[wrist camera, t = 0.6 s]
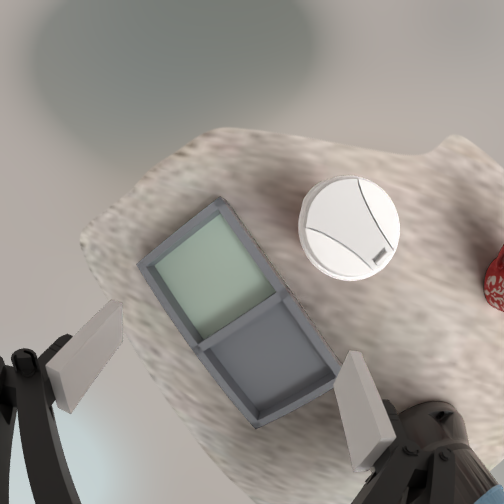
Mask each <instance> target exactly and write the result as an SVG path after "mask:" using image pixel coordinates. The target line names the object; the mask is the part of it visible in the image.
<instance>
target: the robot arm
mask: <svg viewBox="0 0 504 504" xmlns="http://www.w3.org/2000/svg"><path fill="white" fill-rule="evenodd" d="M122 342H123V303H121V302H118V301H115V300H110V301H109V302H108V303H107V304H106V305H105V306H104V307H103V308H102V309H101V310H100V311H99V312H98V313H96V314H95V315H94V317H92V318H91V319H90V320H89V321H88V322H87V323H86V324H85V325H84V326H83V327H82V328H81V329H80V330H79V331H78V332H77V333H76V334H75V335H74V336H71V335H69V334H66V335H63V336H61V337H59V338H58V339H57V340H56V341H55V342H54V343H53V344H52V345H51V346H50V347H49V349H47V350H46V351H45V352H44V353H43V354H42V355H41V356H40V357H39V358H38V359H37V356H36V353H35V352H34V351H33V350H30V349H25V348H23V349H19V350H17V351H15V352H14V353H13V354H12V357H11V361H12V364H13V367H12V366H8V365H5V363H4V361H3V358H2V357H0V504H9V471H10V458H11V447H12V439H13V431H14V424H15V419H16V412H17V411H18V420H19V428H20V436H21V442H22V449H23V454H24V459H25V464H26V469H27V473H28V478H29V482H30V486H31V490H32V493H33V497H34V500H35V504H81V502H80V499H79V497H78V494H77V491H76V489H75V486H74V483H73V481H72V478H71V475H70V472H69V469H68V466H67V463H66V459H65V456H64V452H63V449H62V446H61V442H60V438H59V434H58V430H57V426H56V421H55V417H54V412H53V408H52V404H53V402H54V401H55V400H56V403H57V406H58V408H60V409H62V410H64V411H66V412H68V413H70V414H71V413H72V412H73V410H74V409H75V407H76V406H77V405H78V403H79V402H80V400H81V399H82V397H83V396H84V394H85V393H86V392H87V390H88V389H89V387H90V386H91V385H92V383H93V382H94V380H95V379H96V378H97V376H98V375H99V373H100V372H101V371H102V369H103V368H104V366H105V365H106V364H107V362H108V361H109V360H110V358H111V357H112V356H113V354H114V353H115V351H116V350H117V349H118V347H119V346H120V345H121V343H122ZM333 387H334V391H335V395H336V399H337V403H338V407H339V411H340V415H341V419H342V423H343V428H344V432H345V436H346V440H347V445H348V449H349V453H350V458H351V463H352V467H353V472H359V471H368V470H369V469H370V468H371V472H372V474H371V475H370V476H369V477H368V479H367V480H366V481H365V482H366V484H365V485H364V486H363V488H362V489H361V491H360V492H359V493H358V495H357V496H356V498H355V499H354V500H353V502H352V503H351V504H504V492H503V487H502V486H501V485H500V484H498V482H497V481H496V480H495V478H494V477H493V476H492V475H491V473H490V472H489V471H488V469H487V468H486V467H485V465H484V464H483V463H482V462H481V460H480V459H479V458H478V457H477V455H476V454H475V453H474V452H473V450H472V449H471V448H470V446H469V441H468V436H467V432H466V427H465V423H464V420H463V418H462V416H461V415H460V414H459V412H458V411H457V410H456V409H455V408H454V407H453V406H451V405H450V404H448V403H445V402H438V401H434V402H426V403H422V404H419V405H416V406H414V407H411V408H409V409H407V410H405V411H404V412H402V413H400V414H399V415H397V412H396V410H395V407H394V406H393V405H392V404H391V403H390V401H389V400H381V397H380V395H379V393H378V390H377V388H376V385H375V383H374V381H373V378H372V376H371V374H370V371H369V369H368V367H367V365H366V362H365V360H364V358H363V356H362V353H361V352H359V351H351V350H349V352H348V354H347V356H346V359H345V361H344V363H343V365H342V367H341V369H340V372H339V374H338V376H337V378H336V380H335V382H334V384H333Z"/></svg>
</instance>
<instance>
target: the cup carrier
mask: <svg viewBox="0 0 504 504" xmlns="http://www.w3.org/2000/svg"><path fill="white" fill-rule="evenodd" d="M136 265H137V266H138V268H139V270H140V271H141V273H142V275H143V276H144V278H145V280H146V281H147V283H148V284H149V286H150V288H151V289H152V291H153V292H154V294H155V296H156V297H157V299H158V300H159V302H160V303H161V305H162V306H163V308H164V309H165V311H166V312H167V314H168V315H169V317H170V318H171V320H172V321H173V323H174V324H175V326H176V327H177V329H178V330H179V332H180V333H181V334H182V336H183V337H184V339H185V340H186V342H187V343H188V344H189V346H190V347H191V349H192V350H193V351H194V353H195V354H196V355H197V357H198V358H199V360H200V361H201V362H202V364H203V365H204V366H205V368H206V369H207V370H208V372H209V373H210V374H211V376H212V377H213V378H214V379H215V381H216V382H217V383H218V385H219V386H220V387H221V388H222V390H223V391H224V392H225V393H226V395H227V396H228V397H229V398H230V400H231V401H232V402H233V403H234V405H235V406H236V407H237V408H238V409H239V411H240V412H241V413H242V414H243V415H244V416H245V418H246V419H247V420H248V421H249V422H250V424H251V425H252V426H253V427H254V428H255V429H257V428H259V427H261V426H264V425H266V424H268V423H270V422H272V421H274V420H276V419H278V418H280V417H282V416H284V415H286V414H288V413H290V412H292V411H294V410H295V409H297V408H299V407H301V406H303V405H305V404H306V403H308V402H310V401H312V400H314V399H315V398H317V397H319V396H321V395H322V394H324V393H326V392H327V391H329V390H331V389H332V388H334V387H333V384H334V382H335V380H336V378H337V376H338V374H339V372H340V369H341V367H342V364H341V363H340V361H339V360H338V358H337V357H336V355H335V354H334V353H333V351H332V350H331V348H330V347H329V345H328V344H327V342H326V341H325V340H324V338H323V337H322V335H321V334H320V332H319V331H318V330H317V328H316V327H315V325H314V324H313V322H312V321H311V320H310V318H309V317H308V315H307V314H306V312H305V311H304V310H303V308H302V307H301V305H300V304H299V302H298V301H297V300H296V298H295V297H294V295H293V294H292V292H291V291H290V290H289V288H288V287H287V285H286V284H285V282H284V281H283V280H282V278H281V277H280V275H279V274H278V273H277V271H276V270H275V268H274V267H273V265H272V264H271V263H270V261H269V260H268V258H267V257H266V256H265V254H264V253H263V251H262V250H261V249H260V247H259V246H258V244H257V243H256V241H255V240H254V239H253V237H252V236H251V234H250V233H249V232H248V230H247V229H246V227H245V226H244V225H243V223H242V222H241V220H240V219H239V218H238V216H237V215H236V213H235V212H234V211H233V209H232V208H231V206H230V205H229V204H228V202H227V201H226V200H225V199H223V198H222V197H219V198H218V199H216V200H215V201H214V202H212V203H211V204H210V205H208V206H207V207H206V208H205V209H203V210H202V211H201V212H199V213H198V214H197V215H196V216H194V217H193V218H192V219H191V220H189V221H188V222H187V223H185V224H184V225H183V226H182V227H180V228H179V229H178V230H177V231H176V232H174V233H173V234H172V235H171V236H169V237H168V238H167V239H166V240H164V241H163V242H162V243H161V244H160V245H158V246H157V247H156V248H155V249H154V250H152V251H151V252H150V253H149V254H148V255H146V256H145V257H144V258H143V259H142V260H141V261H139V262H138V263H137V264H136Z"/></svg>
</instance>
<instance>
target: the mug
mask: <svg viewBox="0 0 504 504" xmlns="http://www.w3.org/2000/svg"><path fill="white" fill-rule="evenodd" d="M484 292H485V296H486V299H487V301H488V303H489V304H490V305H491V306H492V307H494V308H496V309H498V310H500V311H503V312H504V245H503V247H502V248H501V250H500V252H499V254H498V257H497V258H496V259H495V260H494V261H493V262H492V263H491V264H490V266H489V267H488V270H487V272H486V276H485V281H484Z"/></svg>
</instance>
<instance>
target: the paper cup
mask: <svg viewBox="0 0 504 504" xmlns="http://www.w3.org/2000/svg"><path fill="white" fill-rule="evenodd" d="M298 233H299V238H300V243H301V245H302V248H303V250H304V252H305V254H306V256H307V257H308V259H309V260H310V261H311V263H312V264H313V265H314V266H315V267H316V268H317V269H318V270H320V271H321V272H323V273H324V274H326V275H328V276H330V277H332V278H335V279H339V280H345V281H357V280H362V279H365V278H368V277H370V276H373V275H374V274H376V273H378V272H379V271H380V270H381V269H383V268H384V267H385V266H386V265H387V264H388V262H389V261H390V260H391V258H392V257H393V255H394V253H395V251H396V248H397V246H398V241H399V236H400V222H399V217H398V213H397V210H396V208H395V205H394V204H393V202H392V200H391V199H390V197H389V196H388V195H387V193H386V192H385V191H384V190H383V189H382V188H381V187H379V186H378V185H377V184H375V183H374V182H372V181H370V180H368V179H365V178H362V177H359V176H353V175H342V176H336V177H333V178H330V179H327V180H324V181H321V182H319V183H317V184H316V185H315V186H314V187H312V189H311V190H310V191H309V192H308V193H307V195H306V196H305V198H304V199H303V203H302V207H301V211H300V215H299V221H298Z"/></svg>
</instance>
